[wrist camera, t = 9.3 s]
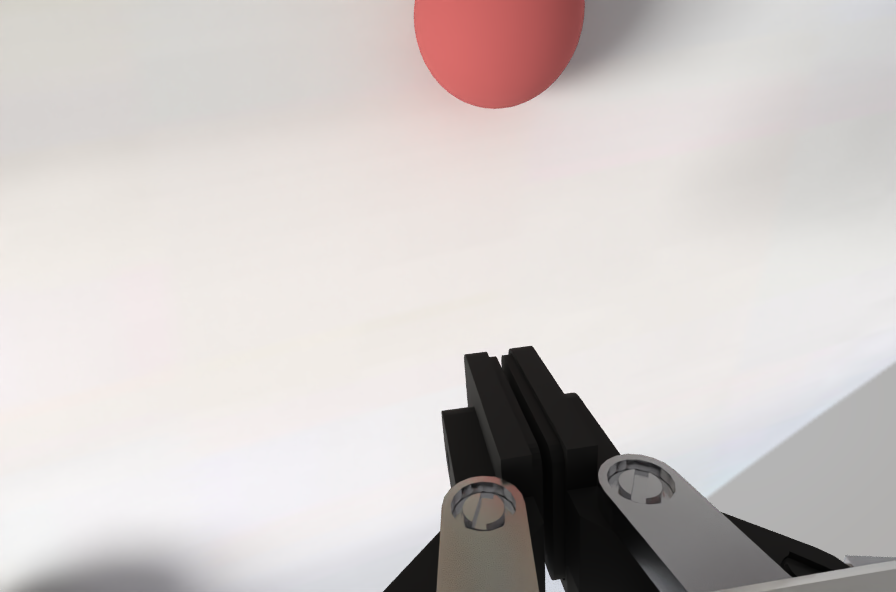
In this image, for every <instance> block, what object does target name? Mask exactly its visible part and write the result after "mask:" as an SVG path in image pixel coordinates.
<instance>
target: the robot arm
mask: <svg viewBox="0 0 896 592" xmlns="http://www.w3.org/2000/svg"><path fill="white" fill-rule="evenodd" d="M501 362H502V368H501V366H500V364H499V361H498V359H497V357H496V356H495V357H489V356H488V353H487V352H481V353H473V354H465V355H464V364H465V376H466V388H467V400H468V407H467V408H459V409H452V410H445V411H442V423H443V433H444V442H445V451H446V458H447V465H448V472H449V478H450V484H451V489H450V490H449V491H448V493H447V494H446V495H445V497H444V500H443V504H442V511H441V527H440V532H439V533H438V534H437V535H436V536H435V537H434V538H433V539H432V540H431V541H430V542H429V543H428V545H427V546H426V547H425V548H424V549H423V550H422V551H421V552H420V553H419V554H418V555H417V556H416V557H415V558H414V559H413V560H412V562H411V563H410V564H409V565H408V566H407V567H406V568H405V569H404V570H403V571H402V572H401V573H400V574H399V575H398V576H397V577H396V579H395V580H394V581H393V582H392V583H391V584H390V585H389V586H388V587H387V588H386V589H385V590H384V591H383V592H545V564H546V567H547V569H548V572H549V575H550V577H551V579H552V580H558V579H560V580H561V582H562V585H563V587H564V590H565V592H896V557H872V556H847V555H846V556H845V558H844V562H842V561H841V560H839V559H838V558H836V557H835V556H833V555H831V554H828V553H826V552H824V551H822V550H820V549H818V548H815V547H813V546H810V545H808V544H805V543H802V542H800V541H797V540H794V539H791V538H789V537H786V536H784V535H781V534H778V533H776V532H773V531H770V530H768V529H765V528H762V527H760V526H757V525H754V524H751V523H749V522H746V521H743V520H740V519H738V518H735V517H733V516H730V515H727V514H725V513H722V512H720V511H719V510H718V509H717V508H716V507H714V506H713V505H712V504H711V503H710V502H709V501H708V500H707V499H706V498H705V497H704V496H703V495H701V494H700V493H699V492H698V491H697V490H696V489H695V488H694V487H693V486H692V485H691V484H689V483H688V482H687V481H686V480H685V479H684V478H683V477H682V476H681V475H680V474H679V473H677V472H676V471H675V470H674V469H673V468H671V467H670V466H668V465H667V464H666V463H664V462H661V461H659V460H657V459H655V458H652V457H648V456H644V455H638V454H624V455H620V453H619V452H618V451H617V449H616V448H615V446H614V445H613V444H612V442H611V441H610V439H609V438H608V437H607V435H606V434H605V432H604V431H603V429H602V428H601V427H600V425H599V424H598V422H597V421H596V420H595V418H594V417H593V415H592V414H591V413H590V411H589V410H588V408H587V407H586V406H585V404H584V403H583V401H582V400H581V399H580V397H579V396H578V395H577V394H576V393H567V394H564V393H563V391H562V390H561V388H560V387H559V385H558V384H557V382H556V381H555V379H554V378H553V376H552V375H551V373H550V372H549V370H548V369H547V367H546V366H545V364H544V363H543V361H542V360H541V358H540V357H539V355H538V354H537V352H536V351H535V349H534V348H533V347H532V346H527V347H519V348H512V349H509V354H508V355H502V359H501Z"/></svg>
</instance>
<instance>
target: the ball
mask: <svg viewBox="0 0 896 592" xmlns="http://www.w3.org/2000/svg"><path fill="white" fill-rule="evenodd" d="M584 8H585V1H584V0H415V6H414V26H415V33H416V38H417V42H418V46H419V49H420V53H421V55H422V57H423V60H424V62H425V64H426V65H427V67H428V69H429V70H430V72H431V74H432V75H433V77H434V78H435V79H436V80H437V81H438V83H439V84H440V85H441V86H442V87H443V88H444V89H445V90H447V91H448V92H449V93H450V94H452V95H453V96H455V97H456V98H458V99H460V100H461V101H464V102H466V103H468V104H471V105H474V106H478V107H483V108H493V109H496V108H506V107H512V106H516V105H519V104H521V103H524V102H527V101H529V100H530V99H532V98H534V97H536V96H537V95H539V94H540V93H542V92H543V91H544V90H546V89H547V88H548V87H549V86H550V85H551V84H552V83H553V82H554V81H555V80H556V79H557V78H558V77H559V76H560V74H561V73H562V72H563V70H564V69H565V68H566V66H567V65H568V63H569V61H570V59H571V58H572V56H573V54H574V51H575V49H576V47H577V44H578V41H579V38H580V34H581V31H582V25H583V20H584Z"/></svg>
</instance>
